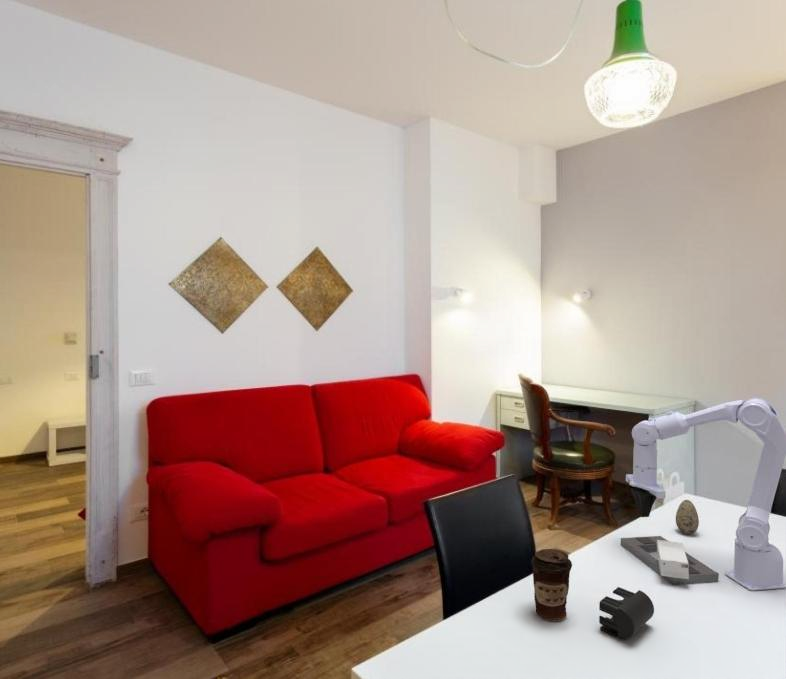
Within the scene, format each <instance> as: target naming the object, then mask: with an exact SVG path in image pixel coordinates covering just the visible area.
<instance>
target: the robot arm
mask: <svg viewBox="0 0 786 679" xmlns="http://www.w3.org/2000/svg"><path fill="white" fill-rule="evenodd" d="M779 416H780V415H779V414H778V412H777V409H776V408H774V407H773V405H771V404H770V403H769V402H768V401H767V400H765V399H764V398H760V397H751V398H747V399H746V400H744V399H738V400H733V401H728V402H724V403H721V404H717V405H713V406H711V407H708V408H705V409H701V410H698V411H695V412H692V413H688V414H683V413H681V412H678V411H676V412H674V411H673V410H670V411H667V412H666V414H665V415H662V416H659V417H655V418H654V417H649V418H648V420H642V421H640V422H638V423H637V424H635V425H634V426H633V428H632V429H631V430H632V431H631V436H632V439H633V450H632V452H633V456H632V457H633V462H632V470H633V471H632V474H631V473H630V474H629V473H628V474H625V482H627V483H629V484H628V485H629V486H631V487H632V488H630V492H631V494H632V496H633V498H634V500H635V504H636V507H637V508H636V509H637V512H638V516H640V517H642V518H649V517H650V515H651V511H652V509H653V505H654V503H655V502H656V500H657V499H659V500H660V499H666V491H665V490H664V489H663V488H662V487H661V486H660V485H659V484H658V476H657V475H658V474H657V473H658V448H657V447H658V446H657V444H658V443H657V442H658V441H657V440H660V441H663V440H667V439H670V438H673V437H678V436H682V435H683V436H684V435H686V434H688V432H689V430H690V428H692V427H697V426H700V425H705V424H710V423H714V422H718V421H727V422H731V423H734V424H737V423H738V421H739V422H740V423H741V424H742V425H743V426H745V427H746V428H748V430H751V431H752V432H754V433H755V435H756V436H757V437H758V438H759V439H760V440H761V441H762V443H763V447H762V450H761V454H760V458H759V461H758V464H757V470H756V474H755V476H754V480H753V485H752V489H751V492H750V495H749V501H748V503H747V507H746V510H745V512H744V513H743V514H741V515H740V517H739V520H738V526H737V527H736V531H735V537H736V538H734V555H733V556H734V558H733V560H734V561H733V571H726V572H724V575H726V576H727V577H729V578H730V579H732V580H733V581H735V582H736V583H738V584H740V585H741V586H743V587H744V588H745V589H748V590H749V591H759V590H761V591H764V590H774V589H786V585H785V584H784V581H783V580H784V557H783V554H782V552H781V551H780V549H779V548H778V547H777V546H775V545H774V544H773V543H769V534H770V533H769V532H770V530H771V528H770V523H769V520H770V515H771V510H772V507H773V503H774V501H775V500H774V499H775V495H776V492H777V489H778V485H779V482H780V477H781V473H782V470H783V466H784V462H785V458H786V429H785V426H784V425H783V422H782V420H781V418H780V417H779Z"/></svg>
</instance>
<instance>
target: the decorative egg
mask: <svg viewBox="0 0 786 679" xmlns="http://www.w3.org/2000/svg"><path fill="white" fill-rule="evenodd" d="M675 526H676V528H677V529H678V530H679V531H680V532H682V533H683V534H686V535H691V534H695V533H696V531H698V529H699V526H700V520H699V515H698V512H697V509H696V506H695V505H694V503H693V502H692V501H691V500H689V499H684V500H682V502H681V503H680V504H679V505H678V508H677V510H676V514H675Z"/></svg>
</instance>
